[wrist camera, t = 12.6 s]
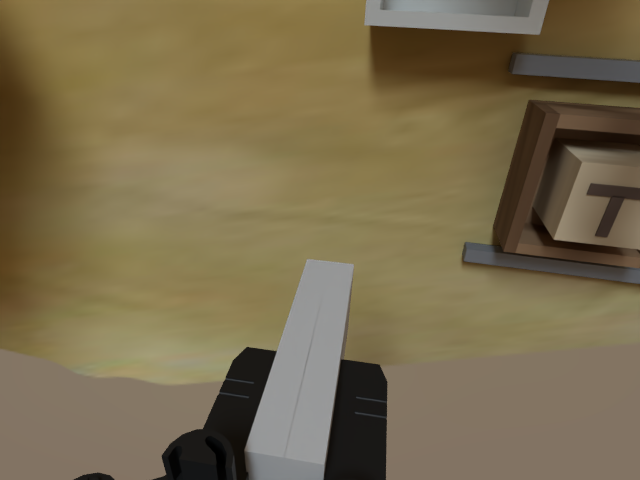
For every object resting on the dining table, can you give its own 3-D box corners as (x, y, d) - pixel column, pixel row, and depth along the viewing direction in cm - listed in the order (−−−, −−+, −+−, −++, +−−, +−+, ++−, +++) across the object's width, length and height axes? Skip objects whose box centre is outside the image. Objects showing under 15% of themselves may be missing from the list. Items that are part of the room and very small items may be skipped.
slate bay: (462, 253, 30) (465, 268, 28) (512, 52, 23) (521, 56, 22) (665, 279, 28) (682, 297, 27) (784, 69, 22) (816, 74, 20)
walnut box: (493, 225, 29) (503, 251, 26) (529, 99, 24) (546, 113, 21) (625, 241, 27) (651, 269, 24) (686, 111, 23) (727, 127, 20)
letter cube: (532, 206, 27) (554, 240, 23) (554, 137, 25) (583, 162, 21) (607, 214, 26) (642, 250, 22) (637, 144, 24) (681, 171, 20)
